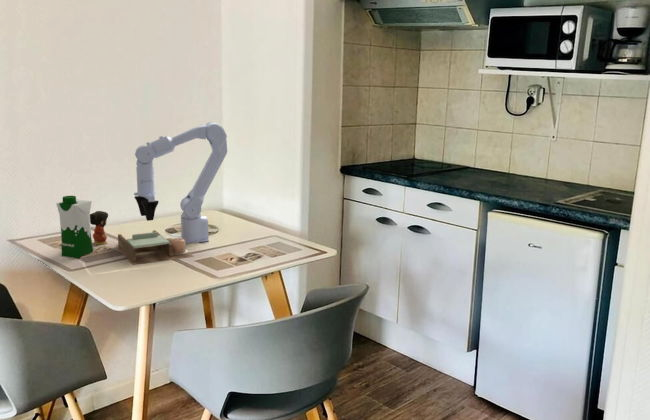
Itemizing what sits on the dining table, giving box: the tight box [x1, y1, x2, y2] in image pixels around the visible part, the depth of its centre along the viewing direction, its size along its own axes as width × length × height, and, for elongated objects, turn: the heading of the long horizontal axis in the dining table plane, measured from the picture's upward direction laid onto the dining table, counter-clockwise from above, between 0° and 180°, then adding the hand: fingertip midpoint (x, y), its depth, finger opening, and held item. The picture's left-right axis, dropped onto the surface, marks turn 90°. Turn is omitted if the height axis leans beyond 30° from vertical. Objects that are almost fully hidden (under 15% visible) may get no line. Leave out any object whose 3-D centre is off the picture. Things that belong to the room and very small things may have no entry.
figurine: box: [90, 210, 109, 246], centre depth 208 cm, size 6×6×12 cm
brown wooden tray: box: [115, 229, 195, 266], centre depth 202 cm, size 20×25×5 cm
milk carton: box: [55, 195, 94, 259], centre depth 195 cm, size 9×9×20 cm
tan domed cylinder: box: [171, 237, 186, 254], centre depth 200 cm, size 5×5×4 cm
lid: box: [126, 231, 169, 248], centre depth 196 cm, size 12×9×2 cm
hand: (147, 217), depth 210 cm, fingers open, 7 cm apart
